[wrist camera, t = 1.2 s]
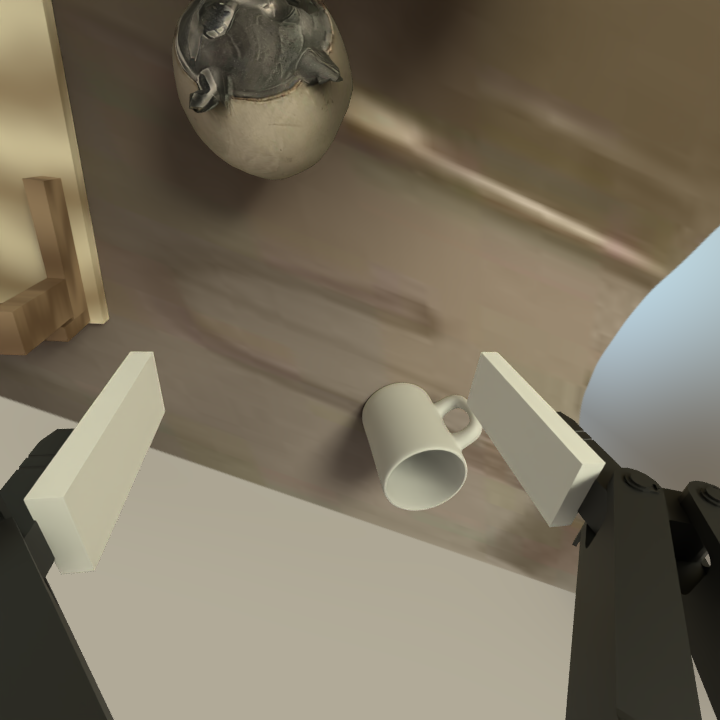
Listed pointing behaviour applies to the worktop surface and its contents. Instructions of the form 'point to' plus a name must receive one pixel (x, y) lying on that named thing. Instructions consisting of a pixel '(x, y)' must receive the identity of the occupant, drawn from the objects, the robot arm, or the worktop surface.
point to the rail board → (41, 191)
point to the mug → (417, 445)
